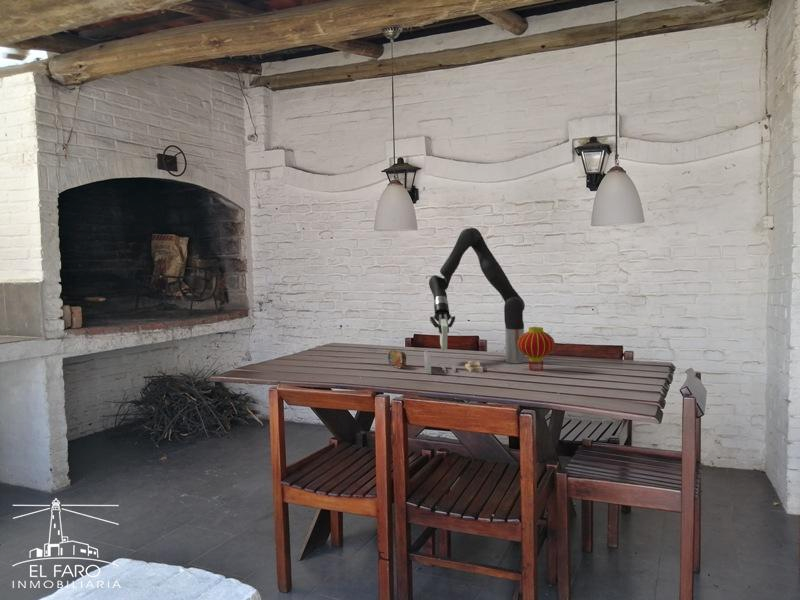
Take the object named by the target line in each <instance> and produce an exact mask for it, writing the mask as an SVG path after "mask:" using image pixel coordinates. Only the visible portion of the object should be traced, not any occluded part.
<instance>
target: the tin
mask: <svg viewBox="0 0 800 600" xmlns="http://www.w3.org/2000/svg"><path fill="white" fill-rule="evenodd" d="M387 357H388V363H389V366H390V365H394V366H397V367H400V368H399V369H404V368H406V365H407V355H406V353H405V352H404V351H401V350H397V349H390V351H389V353H388V356H387Z"/></svg>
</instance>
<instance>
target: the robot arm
mask: <svg viewBox="0 0 800 600" xmlns="http://www.w3.org/2000/svg"><path fill="white" fill-rule="evenodd" d="M470 247H471V248H472V249H473V251H474V253H475V254H476V256H477V258H478V262H479V267H480V269H481V271H482V274H483V275H484V276H485V278H486V280H487V281H488V282H489V284H490V285H491V286H492V287H493V288H494V289H495V291H497V292H498V293H499V295H500V296H501V298H502V299H503V301H504V305H503V309H504V310H503V312H504V313H503V314H504V315H503V316H504V324H505V363H508V364H523V363H526V355H524V354H523V353H522V352H521V351H520V350H519V348H518V345H517V342H518V339H519V338H520V336H521V335H523V334H524V333H525V323H524V315H523V314H524V310H525V306H526V304H525V302H524V300H523V298H522V297H521V296H520V295H519V293H518V292H517V291H516V289H514V287H513V286H512V284H511V282H510V280H509V278H508V277H507V275H506V273H505V271H504V270H503V268H502V266H501V265H500V263H499V262H498V260H497V259H496V258H495V256H494V255H493V252H491V250H490V249H489V247H488V245H487V243H486V242H485V239H484V237H483V235H482V233H481V231H480V230H479V229H478V228H475V227H469V228H465V229H463V230H461V232H460V233H459V235H458V238H457V240H456V243H455V245H454V246H453V249H452V251H451V252H450V254H449V256H448V257H447V259H446V260H445V262H444V263H443V265H442V266H441V268H440V269H439V273H440V274H441V276H443V277H441V276H439V275H432V276H431V277H430V278H429V281H428V285H429V289H430V291H431V294H432V295H433V308H434V315H433V316H430V317H429V321H430V323H431V324H432V325H433V327H434V328H438V333H439V335H440V334H442V328H441V319H446V322H447V325H448V333H449V332H450V328H452V327H453V325H454V323H455V322H456V321H455V320H456V316H455V315H453V316H452V314H450V308H449V306H450V305H449V301H448V295H447V290H448V288H449V285H450V282H451V280H452V277H453V275H454V274H455V271H457V269H458V267H459V266H460V263H461V259H462V257H463V256H464V254H465V252H467V250H468V249H469V248H470Z"/></svg>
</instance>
